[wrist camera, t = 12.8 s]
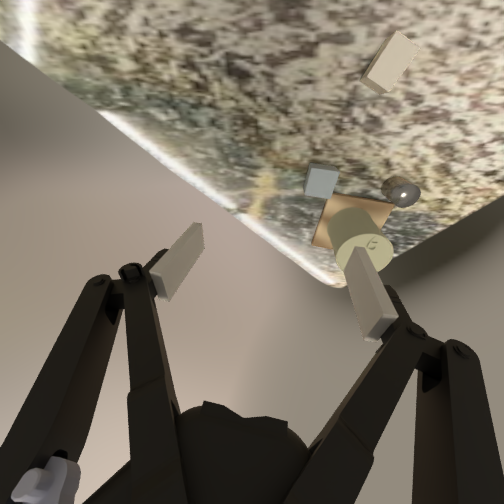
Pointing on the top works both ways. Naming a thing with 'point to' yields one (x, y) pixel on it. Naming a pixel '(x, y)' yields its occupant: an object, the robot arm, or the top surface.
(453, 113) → the top surface
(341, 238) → the can
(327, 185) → the block gray
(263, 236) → the top surface
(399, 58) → the block white
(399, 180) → the tin
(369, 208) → the board
